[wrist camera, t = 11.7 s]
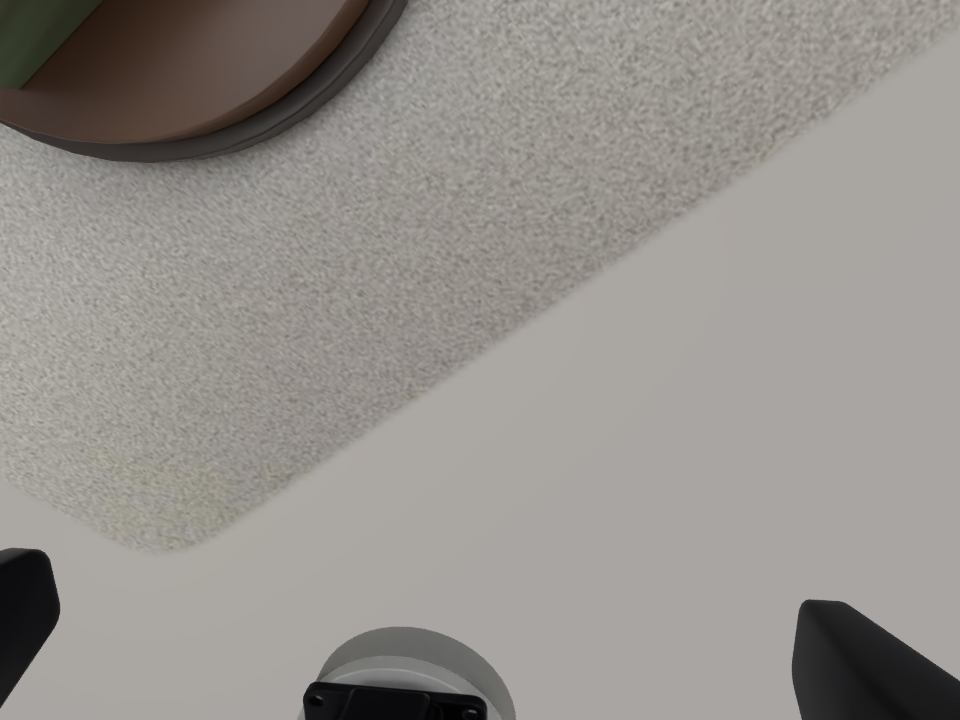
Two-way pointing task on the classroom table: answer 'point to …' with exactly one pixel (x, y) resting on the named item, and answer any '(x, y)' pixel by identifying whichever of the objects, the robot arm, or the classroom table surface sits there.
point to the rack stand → (272, 119)
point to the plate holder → (157, 63)
